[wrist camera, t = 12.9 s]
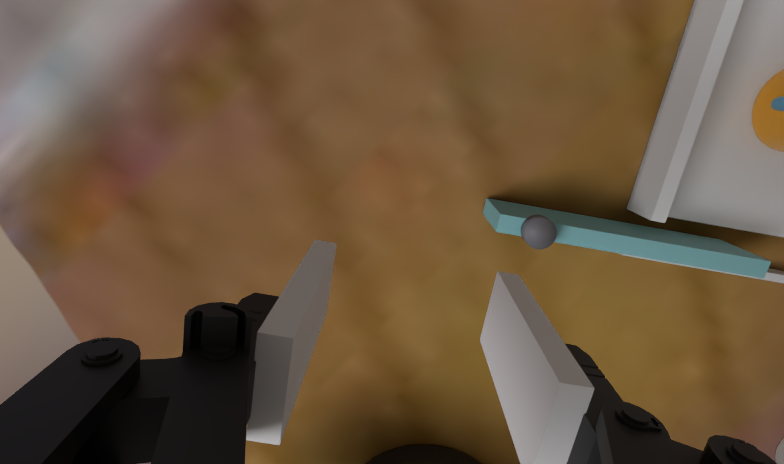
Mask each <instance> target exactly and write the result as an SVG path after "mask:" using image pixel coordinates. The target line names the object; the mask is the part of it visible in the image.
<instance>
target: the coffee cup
mask: <svg viewBox="0 0 784 464" xmlns="http://www.w3.org/2000/svg"><path fill="white" fill-rule="evenodd" d="M775 460H776V463H777V464H784V438H783V439H782V440H781V442H780V444H779V445H778V447H777V450H776V455H775Z"/></svg>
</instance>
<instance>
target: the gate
mask: <svg viewBox="0 0 784 464" xmlns="http://www.w3.org/2000/svg"><path fill="white" fill-rule="evenodd" d="M483 214H484V216H485V217H486V219H487V220H488V221H489V223H490V224H491V225H492V227H493V228H494V230H495V231H496V232H500V233H506V234H511V235H517V236H522V238H523V239H524V240H525V241H526V243H527V244H528V245H529V246H531V247H532V248H535V249H544V248H547V247H549V246H550V245H551V244H552V243H553V242H557V243H563V244H569V245H574V246H580V247H586V248H592V249H597V250H603V251H609V252H615V253H620V254H626V255H632V256H637V257H643V258H649V259H655V260H660V261H666V262H672V263H678V264H683V265H689V266H695V267H701V268H706V269H712V270H718V271H723V272H729V273H735V274H741V275H746V276H752V277H758V278H764V277H765V275H766V273H767V270H768V268H769V266H770V264H771V261H769V260H766V259H764V258H762V257H760V256H757V255H755V254H753V253H750V252H748V251H746V250H743V249H741V248H739V247H737V246H734V245H732V244H730V243H727V242H725V241H723V240H720V239H716V238H710V237H704V236H699V235H693V234H687V233H682V232H676V231H670V230H665V229H659V228H653V227H648V226H642V225H636V224H631V223H625V222H619V221H614V220H608V219H602V218H597V217H591V216H585V215H580V214H574V213H568V212H563V211H557V210H551V209H546V208H540V207H534V206H529V205H523V204H517V203H512V202H506V201H500V200H495V199H489V198H486V202H485V207H484V211H483Z"/></svg>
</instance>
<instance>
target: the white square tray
mask: <svg viewBox="0 0 784 464" xmlns="http://www.w3.org/2000/svg"><path fill="white" fill-rule="evenodd" d="M783 69H784V0H694V3H693V6H692V9H691V12H690V15H689V18H688V22H687V25H686V28H685V31H684V34H683V37H682V40H681V43H680V46H679V49H678V52H677V55H676V58H675V61H674V64H673V67H672V71H671V74H670V77H669V80H668V83H667V86H666V89H665V92H664V95H663V98H662V101H661V104H660V107H659V110H658V113H657V116H656V120H655V123H654V126H653V129H652V132H651V135H650V138H649V141H648V144H647V147H646V150H645V153H644V156H643V159H642V162H641V165H640V169H639V172H638V175H637V178H636V181H635V184H634V187H633V190H632V193H631V196H630V199H629V202H628V205H627V208H626V209H628V210H630V211H632V212H634V213H636V214H638V215H640V216H642V217H644V218H646V219H649V220H651V221H656V222H662V223H665V222H666V219H667V217H671V218H677V219H682V220H688V221H693V222H699V223H705V224H710V225H716V226H722V227H727V228H733V229H739V230H744V231H750V232H755V233H761V234H767V235H772V236H778V237H784V152H780V151H776V150H773V149H771V148H769V147H768V146H766V145H765V144H764V143H762V142H761V141H760V139H759V138H758V137H757V135H756V133H755V131H754V129H753V124H752V110H753V105H754V102H755V100H756V97H757V95H758V94H759V92H760V90H761V88H762V87H763V86H764V85H765V84H766V82H767V81H768V80H769V79H770V78H772V77H773V76H774V75H775V74H777V73H778V72H780V71H781V70H783ZM621 255H624V256H630V257H636V258H642V259H647V260H653V261H659V262H665V263H670V264H676V265H682V266H687V267H693V268H699V269H705V270H710V271H716V272H722V273H728V274H733V275H739V276H745V277H751V278H756V279H762V280H768V281H773V282H779V283H784V271H781V270H776V269H770V268H768V270H767V273H766V275H765V277H764V278H758V277H752V276H746V275H741V274H735V273H729V272H723V271H718V270H712V269H706V268H701V267H695V266H689V265H683V264H678V263H672V262H666V261H660V260H655V259H649V258H643V257H637V256H632V255H626V254H621Z"/></svg>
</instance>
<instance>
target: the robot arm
mask: <svg viewBox="0 0 784 464" xmlns="http://www.w3.org/2000/svg"><path fill="white" fill-rule="evenodd" d="M336 245H337V243H331V242H325V241H319V240H315V241H314V242H313V244H312V245H311V247H310V249H309V250H308V252H307V253H306V255H305V257H304V258H303V260H302V261H301V263H300V265H299V266H298V268H297V269H296V271H295V273H294V274H293V276H292V277H291V279H290V281H289V282H288V284H287V285H286V287H285V289H284V290H283V292H282V293H281V295H280V297H278V296H272V295H266V294H260V293H253V294H251V295H249V296H247V297H245V298H243V299H241V301H240V302H239V303H238V304H237V305H236V304H232V303H224V302H217V303H207V304H203V305H198V306H196V307H194V308H192V309H190V310H189V311H188V312H187V314H186V315H185V320H184V340H183V353H182V356H181V357H177V358H169V359H147V360H140V354H141V353H140V349H139V346H138V345H136V344H135V343H133V342H132V341H129V340H125V339H121V338H109V337H107V338H101V339H100V338H97V339H92V340H90V341H86V342H83V343H80V344H77V345H76V346H74V347H72V348H71V349H69V350H67V351H66V352H65V353H63V354H62V355H61V356H60V357H58V358H57V359H56V360H55V361H54V362H53V363H51V364H50V365H49V366H47V367H46V368H45V369H44V370H43V371H41V372H40V373H39V374H38V375H37V376H35V377H34V378H33V379H31V380H30V381H29V382H28V383H27V384H25V385H24V386H23V387H22V388H20V389H19V390H18V391H17V392H15V394H13V395H12V396H11V397H9V398H8V399H7V400H6V401H4V402H3V403H2V404H1V405H0V464H138V463H148V462H151V464H245V444H246V440H249V441H255V442H262V443H268V444H274V445H280V443H281V440H282V437H283V435H284V432H285V429H286V426H287V423H288V420H289V418H290V415H291V412H292V409H293V406H294V404H295V401H296V398H297V395H298V392H299V389H300V387H301V384H302V381H303V378H304V375H305V373H306V370H307V367H308V364H309V361H310V358H311V356H312V353H313V350H314V347H315V344H316V342H317V339H318V336H319V333H320V330H321V327H322V325H323V322H324V319H325V316H326V312H327V306H328V299H329V292H330V285H331V279H332V272H333V265H334V258H335V252H336ZM480 342H481V345H482V348H483V351H484V354H485V357H486V360H487V363H488V366H489V369H490V372H491V375H492V379H493V382H494V385H495V388H496V391H497V394H498V397H499V400H500V403H501V406H502V409H503V412H504V415H505V418H506V421H507V424H508V428H509V431H510V434H511V437H512V440H513V443H514V446H515V449H516V452H517V455H518V458H519V461H520V464H777V463H776V462H774V461H773V460H772V459H771V458H770V457H768V456H767V455H766V454H764V453H763V452H761V451H759V450H758V449H757V448H756V447H755V446H753V445H751V444H749V443H745V441H742V440H739V439H734V438H731V437H727V436H720V435H714V436H712V437H710V438H709V439H708V442H707V444H706V446H705V448H704V451H701V450H698V449H696V448H693V447H690V446H687V445H684V444H682V443H679V442H676V441H673V440H671V439H670V436H669V434H668V432H667V430H666V428H665V427H664V425H663V424H662V423H661V422H660V421H659V420H658V419H657V418H656V417H654V416H653V415H652V414H650V413H649V412H647V411H645V410H644V409H642V408H640V407H638V406H635V405H633V404H630V403H627V402H623V400H622V399H621V398H620V396H619V395H618V394H617V392H616V391H615V389H614V388H613V387H612V385H611V384H610V383H609V381H608V380H607V379H605V376H604V375H603V373H602V372H601V370H600V369H598V366H597V365H596V364H595V362H594V361H593V360H592V358H591V357H590V356H589V355H588V354H586V353H585V352H584V351H583V350H581V349H580V348H579V347H577V346H576V345H570V344H565V343H564V342H563V340H562V339H561V337H560V336H559V334H558V333H557V331H556V330H555V328H554V327H553V325H552V324H551V322H550V321H549V319H548V318H547V316H546V315H545V313H544V312H543V310H542V309H541V307H540V306H539V305H538V303H537V302H536V300H535V299H534V297H533V296H532V294H531V293H530V291H529V290H528V288H527V287H526V285H525V284H524V282H523V281H522V279H521V278H520V276H519V275H517V274H511V273H505V272H499V271H497V275H496V279H495V283H494V287H493V291H492V294H491V298H490V302H489V306H488V310H487V314H486V318H485V322H484V326H483V330H482V334H481V337H480ZM247 423H248V427H247V436H246V425H247ZM366 464H480V463H479V462H478V461H476V460H475V459H473V458H471V457H470V456H468V455H466V454H464V453H461V452H459V451H456V450H453V449H449V448H446V447H440V446H433V445H413V446H406V447H401V448H397V449H393V450H390V451H387V452H385V453H383V454H381V455H378V456H377V457H375V458H373V459H372V460H370V461H369V462H367V463H366Z"/></svg>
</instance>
